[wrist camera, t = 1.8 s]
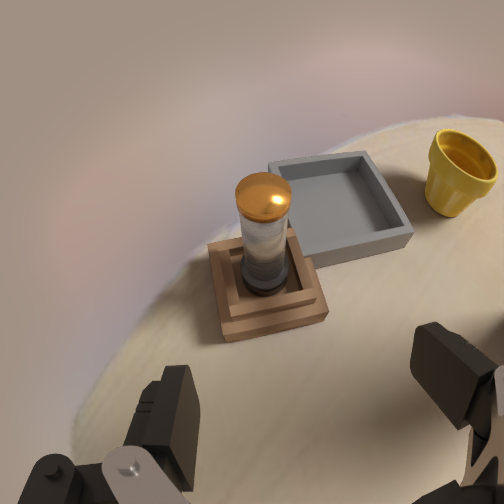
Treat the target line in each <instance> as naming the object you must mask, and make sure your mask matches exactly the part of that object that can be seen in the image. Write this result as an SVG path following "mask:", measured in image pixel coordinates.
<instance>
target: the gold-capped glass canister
mask: <svg viewBox="0 0 504 504" xmlns="http://www.w3.org/2000/svg"><path fill="white" fill-rule="evenodd" d="M235 196H236V203H237V208H238V211H239V215H240V223H241V231H242V239H243V247H244V255H243V256H242V259H241V263H240V268H241V274H242V280H243V284H244V286H245V287H246V289H247V290H248V291H249V292H251V293H252V294H254V295H256V296H260V297H270V296H273V295H276V294H277V293H279V292H280V291H281V290H282V289H283V288H284V287H285V285H286V282H287V278H288V271H289V260H288V257H287V255H286V254H285V245H286V235H287V224H288V213H289V209H290V206H291V196H292V191H291V187H290V185H289V183H288V182H287V181H286V180H285V179H284V178H282V177H281V176H279V175H276V174H273V173H268V172H260V173H254V174H251V175H249V176H247V177H245V178H244V179H242V180H241V181H240V182H239V184H238V185H237V187H236V192H235Z"/></svg>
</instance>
